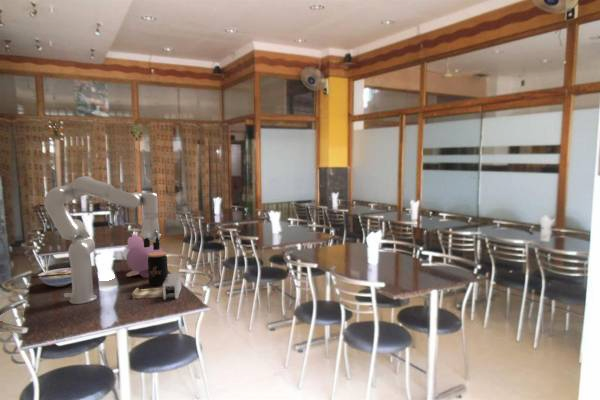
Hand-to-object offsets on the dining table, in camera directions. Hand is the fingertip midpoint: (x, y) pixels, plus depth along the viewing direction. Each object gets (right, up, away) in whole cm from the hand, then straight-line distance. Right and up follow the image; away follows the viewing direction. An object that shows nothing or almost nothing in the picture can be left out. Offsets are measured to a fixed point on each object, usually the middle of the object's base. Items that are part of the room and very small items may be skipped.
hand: (151, 248), depth 222 cm
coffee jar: (-4, -24, +23) cm, 33 cm away
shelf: (+10, -25, +5) cm, 27 cm away
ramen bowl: (-61, -24, +23) cm, 70 cm away
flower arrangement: (-22, -22, +46) cm, 55 cm away
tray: (-2, -25, +3) cm, 26 cm away
